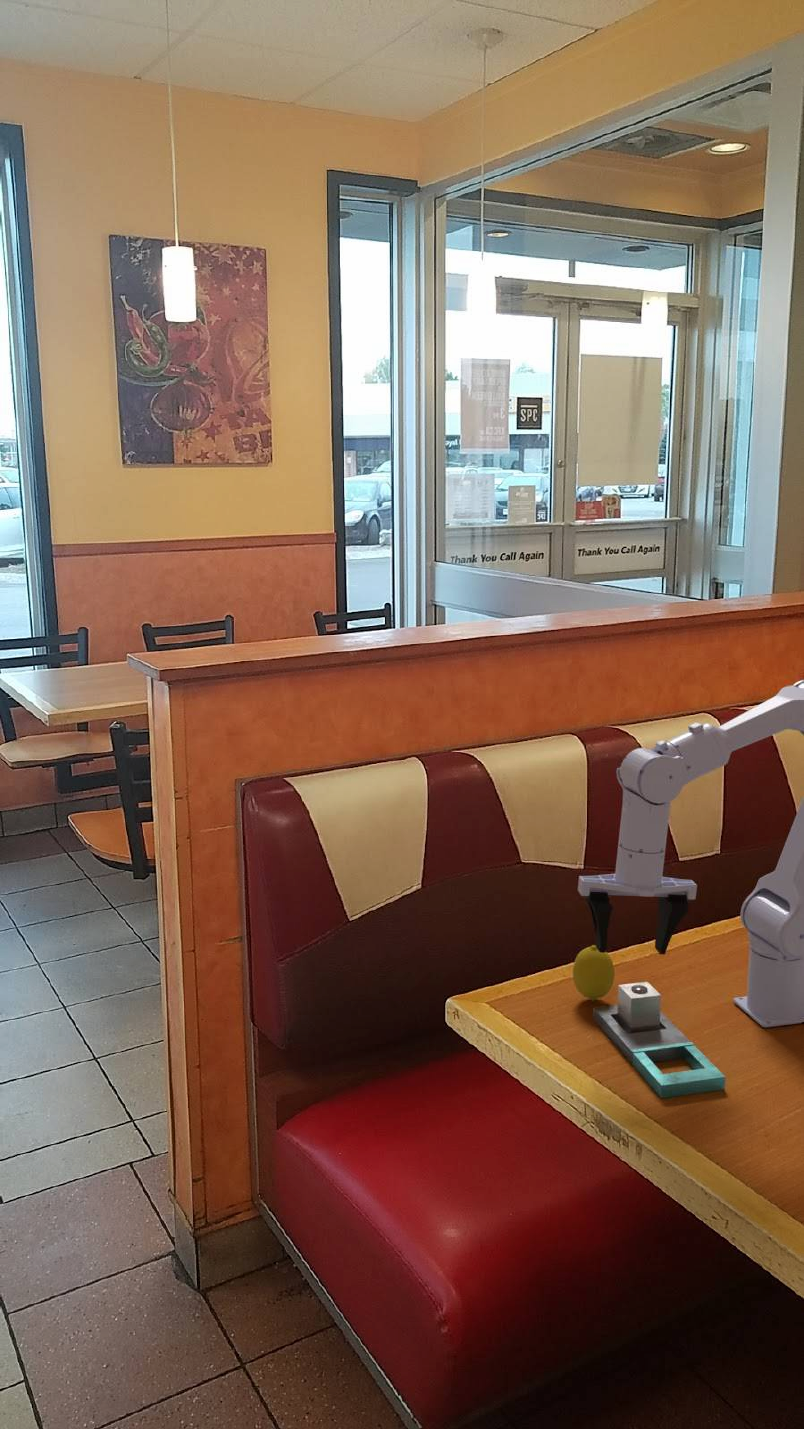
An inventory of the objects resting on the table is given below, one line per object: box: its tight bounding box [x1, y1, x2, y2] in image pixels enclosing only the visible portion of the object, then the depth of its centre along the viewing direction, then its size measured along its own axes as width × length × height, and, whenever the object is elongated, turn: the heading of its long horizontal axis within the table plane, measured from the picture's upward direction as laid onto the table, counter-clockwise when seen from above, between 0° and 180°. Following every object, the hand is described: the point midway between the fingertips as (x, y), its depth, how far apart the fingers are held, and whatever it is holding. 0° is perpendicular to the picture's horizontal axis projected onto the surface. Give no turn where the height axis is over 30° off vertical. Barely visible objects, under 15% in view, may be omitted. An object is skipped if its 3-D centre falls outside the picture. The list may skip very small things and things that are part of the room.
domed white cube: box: [617, 981, 662, 1034], centre depth 144 cm, size 4×4×6 cm
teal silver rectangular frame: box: [592, 1004, 726, 1099], centre depth 139 cm, size 8×20×2 cm, turn 13°
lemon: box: [572, 944, 615, 1002], centre depth 153 cm, size 6×6×8 cm
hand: (630, 950), depth 142 cm, fingers open, 7 cm apart
